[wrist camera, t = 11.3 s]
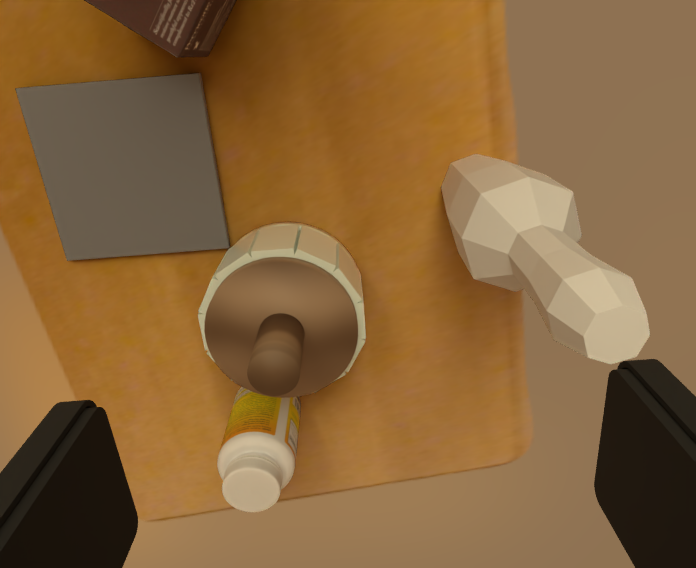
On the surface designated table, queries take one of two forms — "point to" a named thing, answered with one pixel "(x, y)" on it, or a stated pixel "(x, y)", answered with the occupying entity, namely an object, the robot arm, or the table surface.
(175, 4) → the box
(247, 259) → the bowl
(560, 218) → the low poly bottle
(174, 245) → the mat
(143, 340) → the table surface
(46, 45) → the table surface
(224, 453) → the supplement bottle
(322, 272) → the lid
